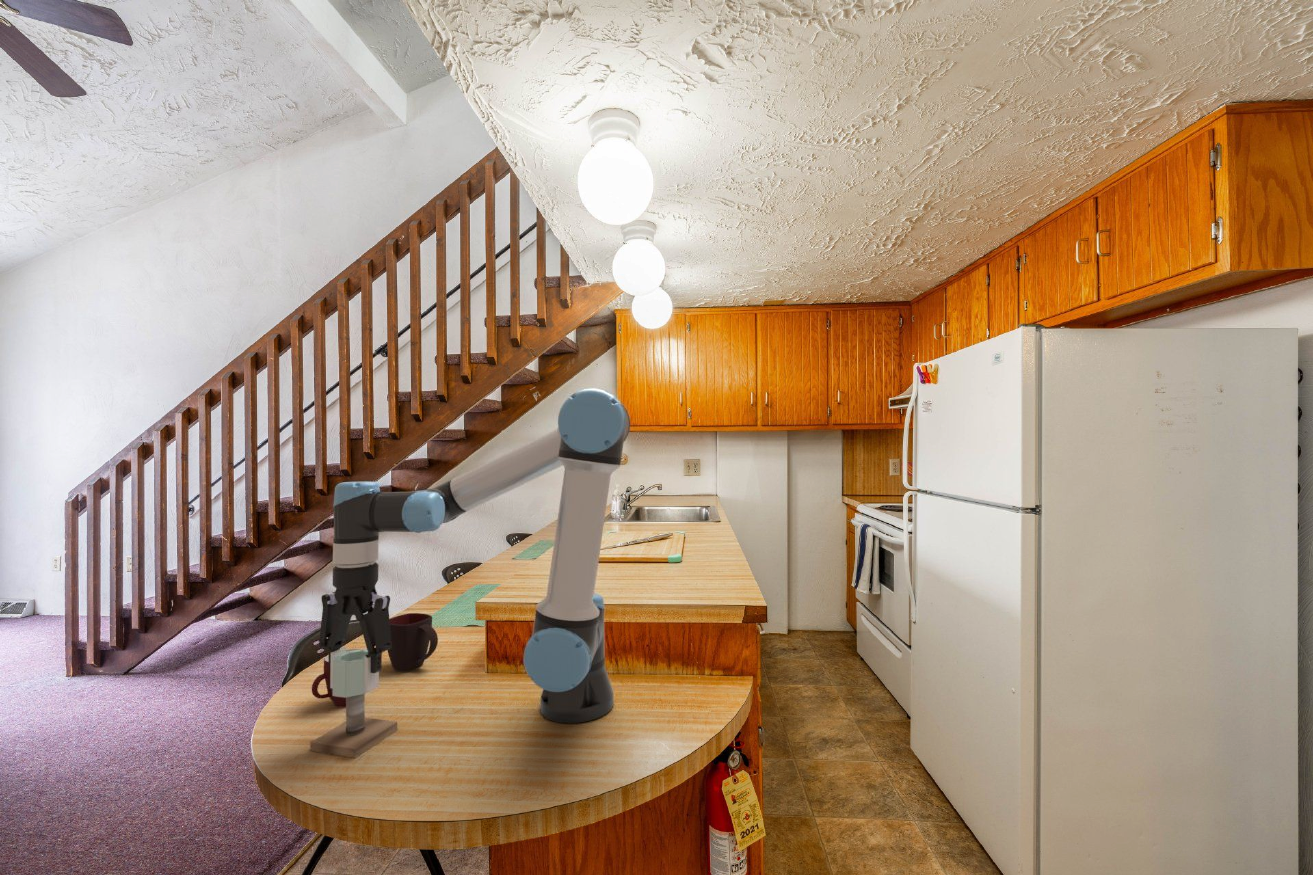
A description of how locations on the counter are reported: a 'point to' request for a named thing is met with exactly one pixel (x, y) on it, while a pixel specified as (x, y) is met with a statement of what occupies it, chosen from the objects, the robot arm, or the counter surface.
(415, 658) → the mug
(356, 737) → the post stand
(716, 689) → the counter surface
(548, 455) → the robot arm
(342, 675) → the ring
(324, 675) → the mug
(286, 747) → the counter surface
